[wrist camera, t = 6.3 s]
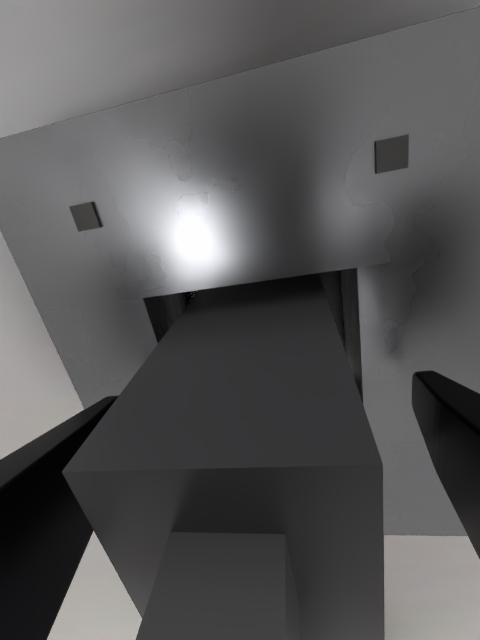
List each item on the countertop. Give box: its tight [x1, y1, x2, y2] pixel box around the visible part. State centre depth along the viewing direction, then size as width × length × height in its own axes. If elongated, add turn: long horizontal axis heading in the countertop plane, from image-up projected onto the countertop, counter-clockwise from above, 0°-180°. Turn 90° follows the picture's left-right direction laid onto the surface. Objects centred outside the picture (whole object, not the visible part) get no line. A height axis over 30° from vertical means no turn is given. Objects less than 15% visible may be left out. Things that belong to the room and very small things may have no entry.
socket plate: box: [0, 7, 480, 536], centre depth 10 cm, size 14×12×3 cm
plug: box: [62, 273, 384, 640], centre depth 8 cm, size 4×4×9 cm
